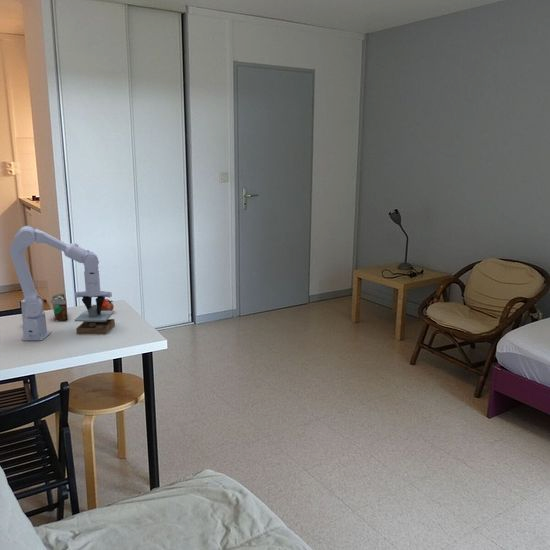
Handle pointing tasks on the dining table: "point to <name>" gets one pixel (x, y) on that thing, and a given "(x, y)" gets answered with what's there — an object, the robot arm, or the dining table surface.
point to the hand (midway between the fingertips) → (94, 313)
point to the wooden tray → (95, 327)
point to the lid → (94, 315)
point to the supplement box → (23, 310)
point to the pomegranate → (107, 305)
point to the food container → (59, 307)
